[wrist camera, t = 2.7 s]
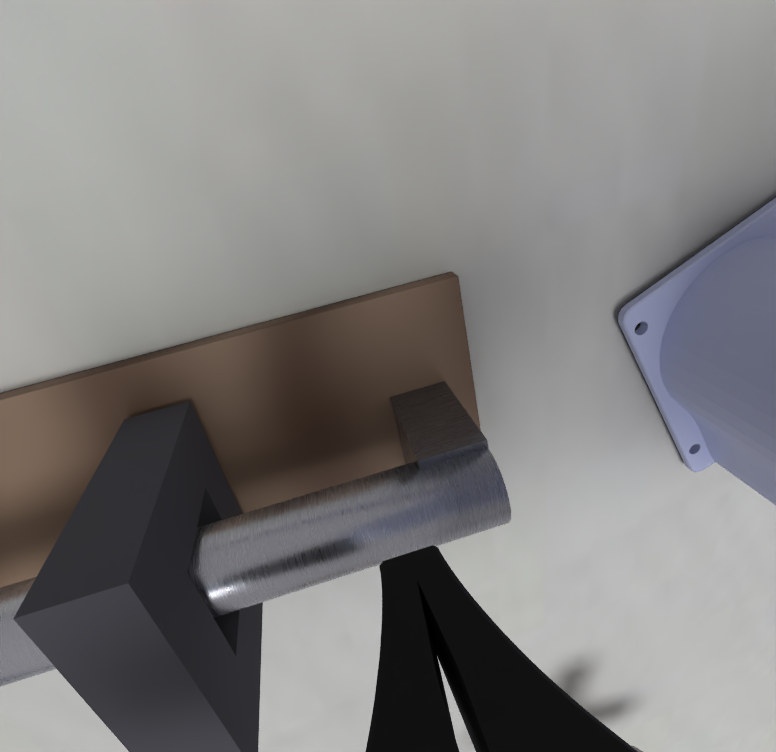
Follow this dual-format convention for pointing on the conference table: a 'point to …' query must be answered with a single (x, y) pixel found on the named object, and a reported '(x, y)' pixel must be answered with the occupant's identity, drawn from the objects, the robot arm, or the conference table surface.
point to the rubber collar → (149, 597)
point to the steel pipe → (330, 523)
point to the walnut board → (239, 407)
